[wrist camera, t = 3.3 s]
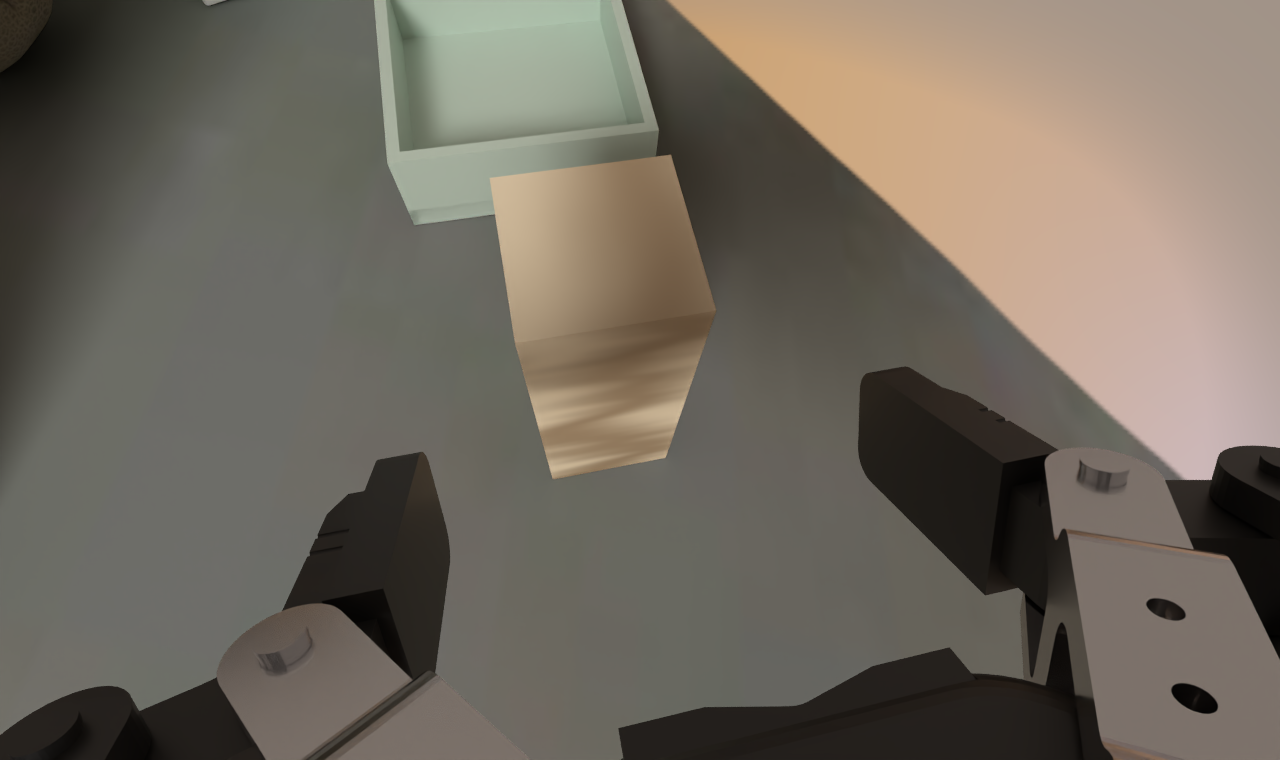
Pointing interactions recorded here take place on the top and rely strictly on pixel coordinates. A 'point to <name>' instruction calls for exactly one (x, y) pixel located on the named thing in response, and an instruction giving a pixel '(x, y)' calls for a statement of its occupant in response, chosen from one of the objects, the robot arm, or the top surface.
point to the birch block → (603, 306)
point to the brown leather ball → (20, 27)
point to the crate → (504, 95)
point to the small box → (212, 2)
